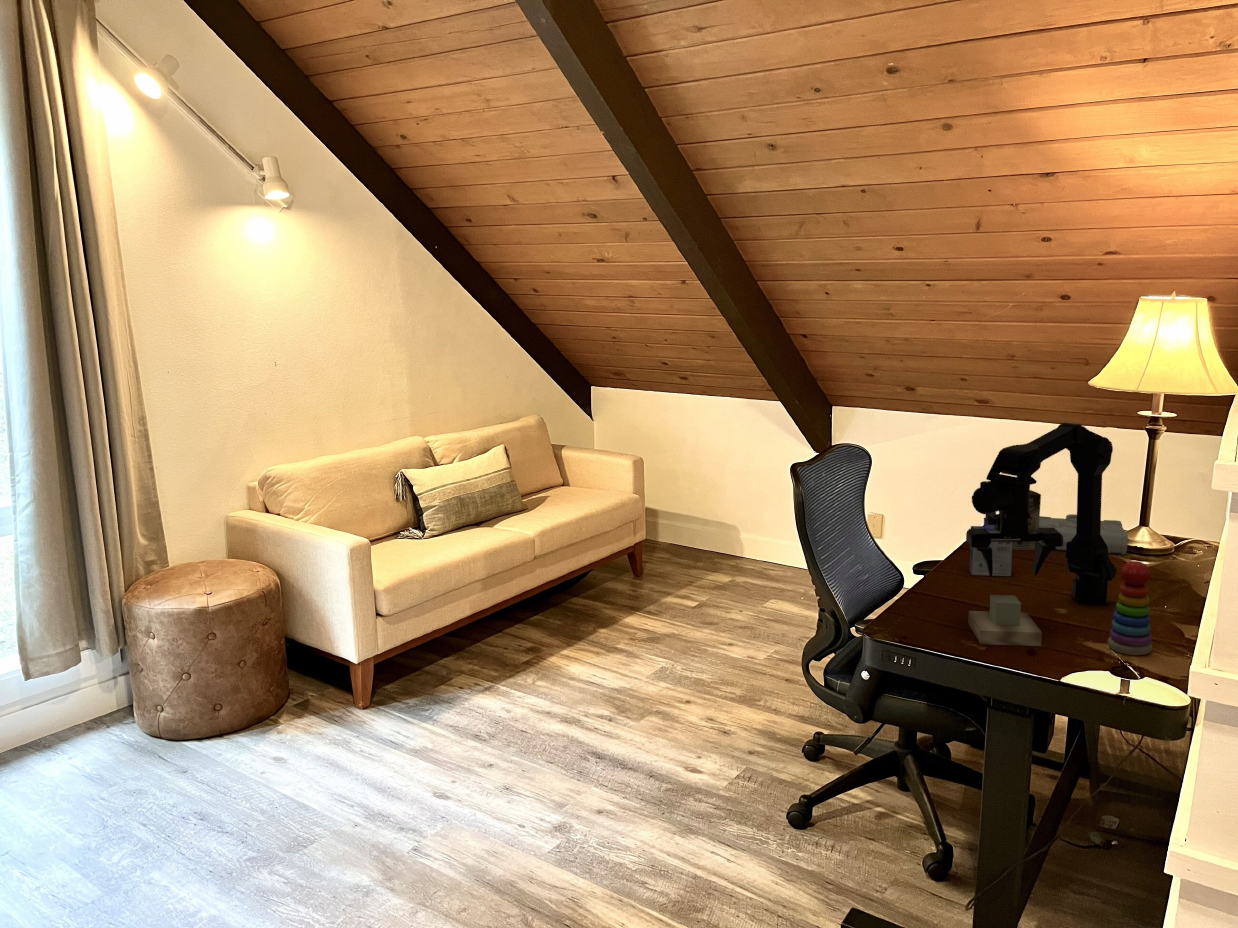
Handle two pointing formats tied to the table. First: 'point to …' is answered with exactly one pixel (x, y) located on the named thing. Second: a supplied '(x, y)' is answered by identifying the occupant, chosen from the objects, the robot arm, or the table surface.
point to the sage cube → (1005, 610)
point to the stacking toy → (1132, 612)
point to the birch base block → (1004, 630)
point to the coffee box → (1031, 522)
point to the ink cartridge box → (999, 556)
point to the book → (1109, 532)
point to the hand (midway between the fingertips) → (1012, 575)
